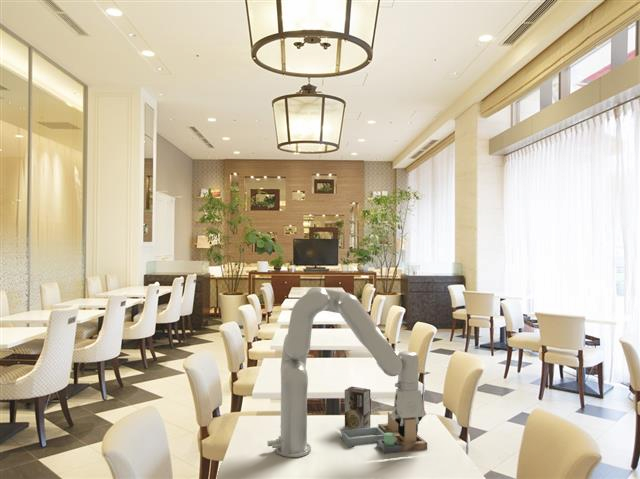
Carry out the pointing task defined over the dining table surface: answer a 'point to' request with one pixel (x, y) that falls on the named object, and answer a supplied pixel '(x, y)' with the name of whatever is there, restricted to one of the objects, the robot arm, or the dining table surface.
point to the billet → (409, 430)
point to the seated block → (392, 423)
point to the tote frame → (361, 440)
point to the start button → (389, 439)
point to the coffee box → (357, 408)
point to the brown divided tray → (406, 446)
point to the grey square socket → (389, 447)
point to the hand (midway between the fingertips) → (408, 434)
